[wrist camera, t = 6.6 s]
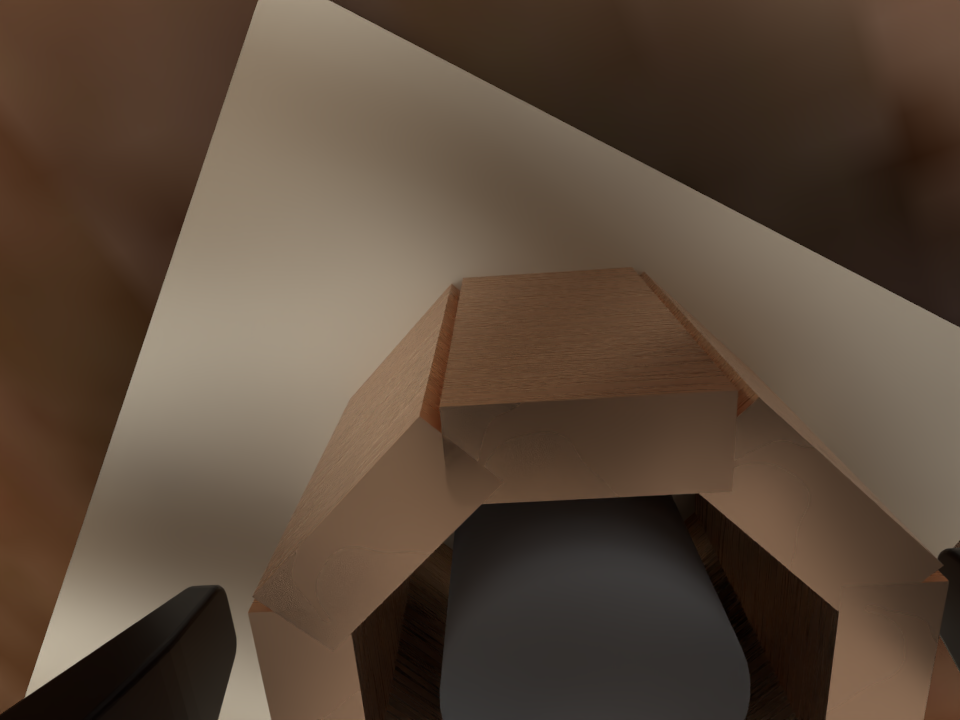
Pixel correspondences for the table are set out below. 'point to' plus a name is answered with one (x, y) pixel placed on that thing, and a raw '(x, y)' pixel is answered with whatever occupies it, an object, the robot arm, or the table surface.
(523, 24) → the table surface
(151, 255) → the table surface
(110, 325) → the table surface
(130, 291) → the table surface
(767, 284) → the duct base
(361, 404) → the sleeve
